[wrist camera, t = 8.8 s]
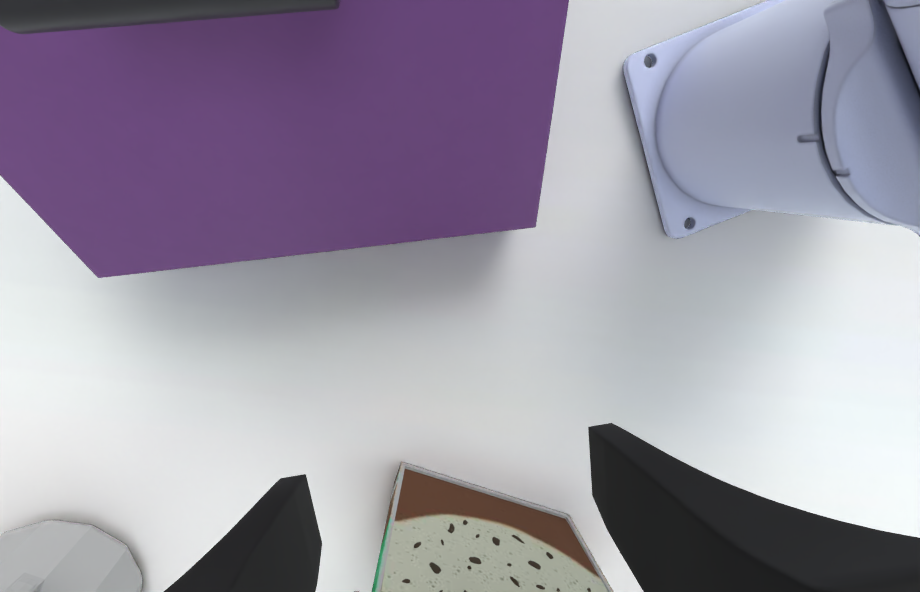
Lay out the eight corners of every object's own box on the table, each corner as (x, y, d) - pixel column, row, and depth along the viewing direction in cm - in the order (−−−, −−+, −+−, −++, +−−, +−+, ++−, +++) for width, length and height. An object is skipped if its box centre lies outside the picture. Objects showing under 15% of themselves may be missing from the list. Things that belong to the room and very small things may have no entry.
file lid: (-356, -231, 7) (-731, -177, 5) (599, -268, 9) (710, -240, 6) (102, 267, 17) (57, 377, 14) (532, 218, 18) (564, 312, 15)
